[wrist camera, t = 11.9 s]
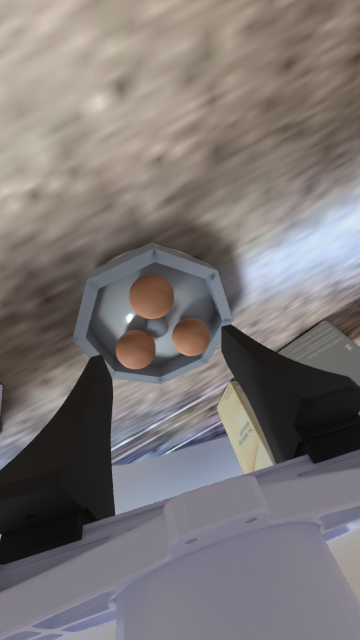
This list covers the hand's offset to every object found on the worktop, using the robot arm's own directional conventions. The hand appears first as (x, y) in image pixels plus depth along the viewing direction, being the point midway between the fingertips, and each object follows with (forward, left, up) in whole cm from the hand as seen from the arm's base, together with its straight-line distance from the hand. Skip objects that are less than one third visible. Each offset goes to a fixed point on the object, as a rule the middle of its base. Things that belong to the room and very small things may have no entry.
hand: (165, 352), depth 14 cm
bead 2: (-6, 0, -7) cm, 9 cm away
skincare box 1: (-13, -18, -10) cm, 25 cm away
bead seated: (-3, -5, -7) cm, 9 cm away
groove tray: (-3, -2, -10) cm, 11 cm away
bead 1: (0, 0, -7) cm, 7 cm away
